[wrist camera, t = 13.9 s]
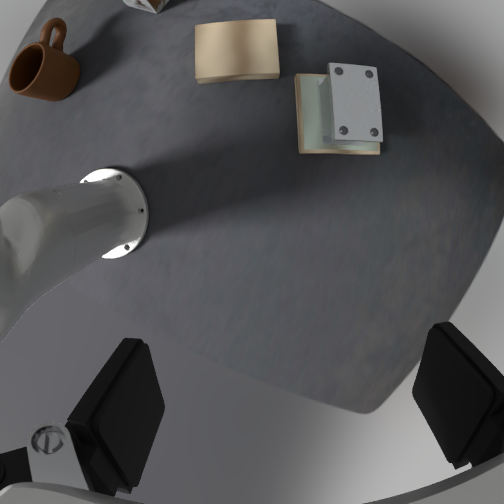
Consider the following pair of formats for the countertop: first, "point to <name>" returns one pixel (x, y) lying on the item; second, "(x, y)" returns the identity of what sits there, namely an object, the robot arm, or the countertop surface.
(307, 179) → the countertop surface
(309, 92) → the stand
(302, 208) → the countertop surface
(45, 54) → the mug
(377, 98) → the housing
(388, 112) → the countertop surface
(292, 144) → the countertop surface
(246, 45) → the beige piece
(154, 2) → the coffee box
